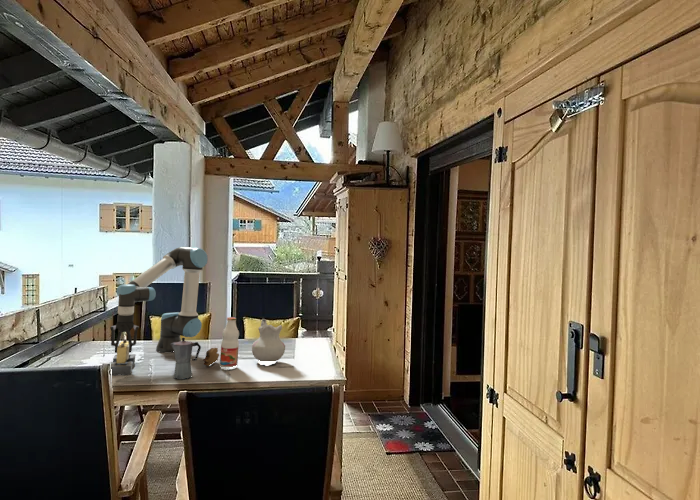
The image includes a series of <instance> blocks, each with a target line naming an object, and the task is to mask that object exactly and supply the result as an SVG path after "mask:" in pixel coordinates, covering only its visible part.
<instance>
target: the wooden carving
mask: <svg viewBox="0 0 700 500" xmlns="http://www.w3.org/2000/svg"><path fill="white" fill-rule="evenodd" d="M218 351H219V349H218V348H217V347H211V348H210V349H208V350H207V351H206V353H205V358H203V360H202V361H203V366H205V365H206V366H205V367H209V365H210V364H212V363H213V362H215V361H216V360H217V361H218V360H219V356H220V353H218ZM215 363H216V362H215Z"/></svg>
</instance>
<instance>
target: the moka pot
mask: <svg viewBox="0 0 700 500" xmlns="http://www.w3.org/2000/svg"><path fill="white" fill-rule="evenodd" d="M170 345H171V346H172V348H173V350H174V352H173V353H174V358H175V359H174V360H175V364H174V365H175V366H174V373H173V379H175V378H177V379H176V380H185V379H184V378H187V379H190V378H192V377H193V372H192V363H191V361H193V362H195V361H197V360H198V357H199V354H200V352H201V348H202V346H201V345H200V344H199V343H198V341H195V342H193V341H187V340H186V337H181V341H180V342H174V343H172V344H170ZM193 347H197V350H196V354H195V357H194V358H192V355H193V354H192V353H193ZM191 358H192V359H191ZM191 376H192V377H191ZM189 377H190V378H189Z"/></svg>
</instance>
